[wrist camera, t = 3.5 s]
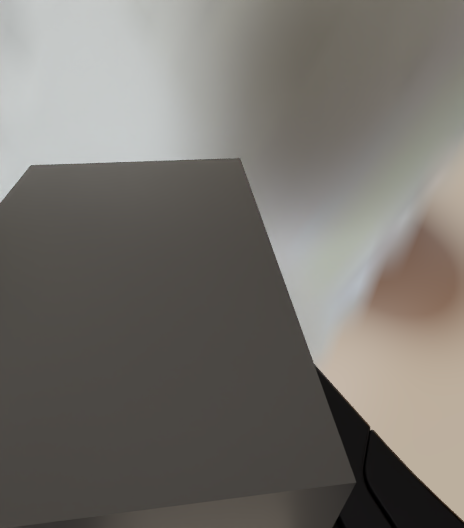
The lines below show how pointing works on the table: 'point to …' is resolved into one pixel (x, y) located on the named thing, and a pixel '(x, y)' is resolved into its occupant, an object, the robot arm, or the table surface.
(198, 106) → the table surface
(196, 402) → the grey ice pop
